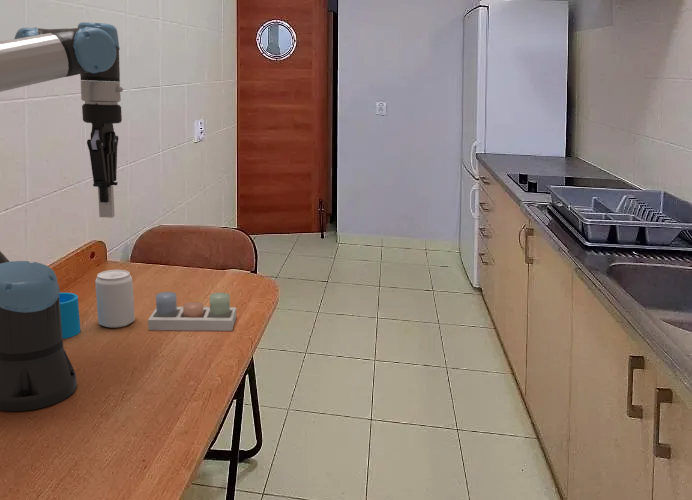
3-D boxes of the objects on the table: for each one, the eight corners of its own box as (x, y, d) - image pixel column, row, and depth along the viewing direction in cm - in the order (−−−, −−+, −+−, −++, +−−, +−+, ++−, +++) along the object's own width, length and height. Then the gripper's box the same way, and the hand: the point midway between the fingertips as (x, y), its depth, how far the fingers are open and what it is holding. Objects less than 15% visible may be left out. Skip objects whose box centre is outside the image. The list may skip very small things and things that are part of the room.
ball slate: (174, 313, 152) (174, 298, 151) (154, 313, 152) (153, 298, 151) (178, 307, 157) (178, 292, 156) (159, 306, 156) (158, 291, 155)
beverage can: (90, 324, 153) (87, 275, 150) (117, 314, 160) (114, 267, 157) (115, 331, 149) (112, 281, 146) (142, 320, 156) (139, 272, 153)
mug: (72, 339, 144) (69, 304, 142) (35, 339, 144) (31, 304, 142) (91, 320, 156) (88, 287, 154) (56, 319, 155) (53, 287, 153)
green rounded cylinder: (228, 314, 153) (228, 298, 152) (208, 314, 153) (208, 298, 152) (230, 307, 157) (230, 292, 156) (211, 307, 157) (211, 292, 156)
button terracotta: (201, 324, 153) (201, 308, 152) (182, 324, 153) (181, 308, 152) (205, 317, 158) (204, 302, 157) (185, 316, 157) (185, 301, 156)
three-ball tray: (232, 330, 152) (231, 320, 151) (148, 330, 151) (148, 319, 150) (236, 317, 160) (236, 307, 160) (157, 316, 159) (157, 306, 159)
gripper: (110, 104, 128) (115, 223, 133) (129, 103, 140) (133, 211, 146) (71, 103, 127) (78, 222, 133) (93, 101, 140) (99, 210, 146)
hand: (107, 216), depth 140 cm, fingers closed
